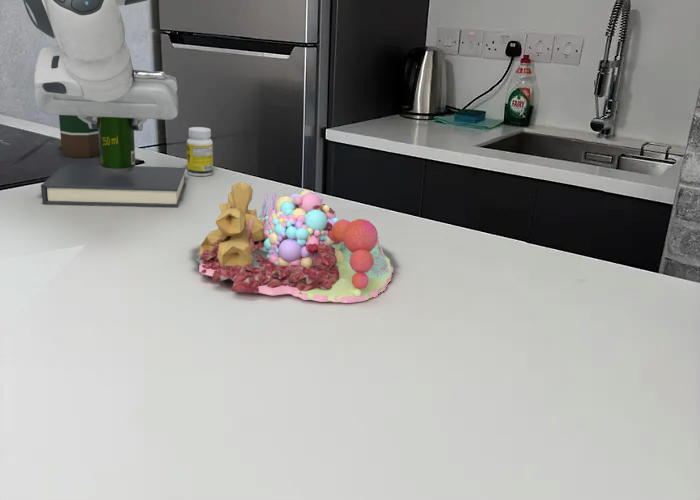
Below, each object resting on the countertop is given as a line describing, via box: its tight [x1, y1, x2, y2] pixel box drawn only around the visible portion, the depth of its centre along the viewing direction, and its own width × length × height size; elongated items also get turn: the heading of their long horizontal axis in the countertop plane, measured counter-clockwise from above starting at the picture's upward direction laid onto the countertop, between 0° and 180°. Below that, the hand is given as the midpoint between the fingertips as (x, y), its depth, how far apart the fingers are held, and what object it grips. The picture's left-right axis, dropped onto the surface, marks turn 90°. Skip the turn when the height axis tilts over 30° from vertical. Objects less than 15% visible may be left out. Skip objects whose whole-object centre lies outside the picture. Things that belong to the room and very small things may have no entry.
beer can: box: [98, 117, 136, 173], centre depth 109 cm, size 5×5×12 cm
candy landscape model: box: [195, 182, 395, 304], centre depth 86 cm, size 25×24×9 cm
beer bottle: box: [58, 115, 100, 159], centre depth 132 cm, size 8×8×24 cm
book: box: [40, 163, 186, 208], centre depth 111 cm, size 20×14×3 cm
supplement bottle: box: [186, 126, 214, 177], centre depth 126 cm, size 5×5×8 cm
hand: (116, 126), depth 109 cm, fingers closed on beer can, 5 cm apart
